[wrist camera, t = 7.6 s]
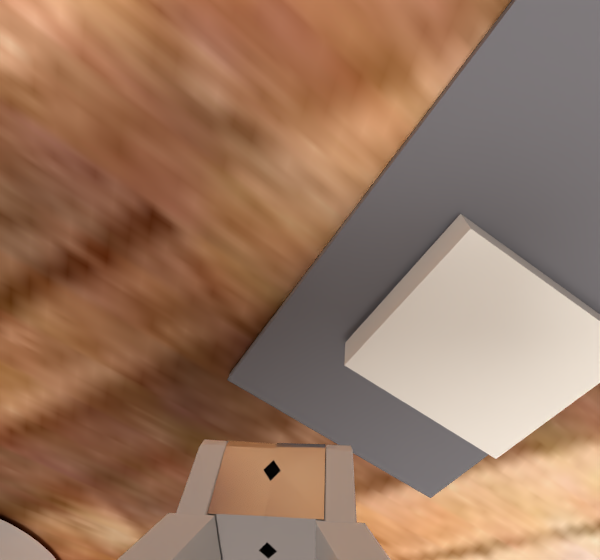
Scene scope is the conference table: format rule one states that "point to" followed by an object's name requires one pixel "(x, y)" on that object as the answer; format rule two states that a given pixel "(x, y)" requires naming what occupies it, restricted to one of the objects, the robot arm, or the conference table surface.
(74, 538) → the conference table surface
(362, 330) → the tile
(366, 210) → the mat
